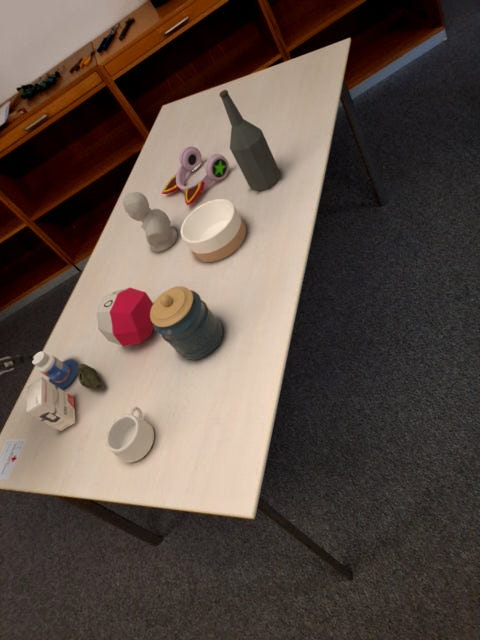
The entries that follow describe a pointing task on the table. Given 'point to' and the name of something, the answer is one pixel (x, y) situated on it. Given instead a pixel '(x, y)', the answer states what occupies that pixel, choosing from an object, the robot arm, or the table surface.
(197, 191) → the headphones
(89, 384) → the decorative stone
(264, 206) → the table surface
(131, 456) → the mug
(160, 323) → the canister
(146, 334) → the decorative object
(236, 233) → the bowl
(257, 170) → the bottle
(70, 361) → the coaster
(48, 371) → the pill bottle
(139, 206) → the figurine
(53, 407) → the ink box
